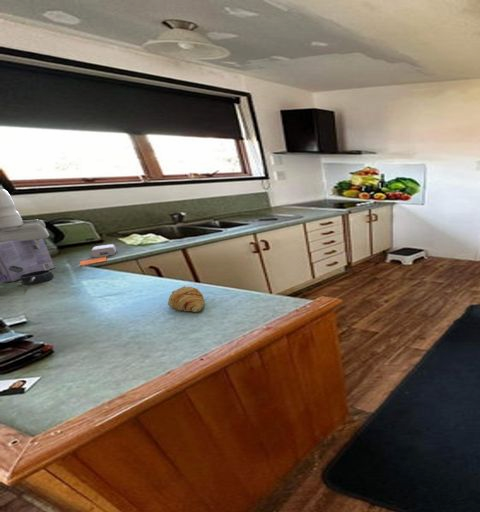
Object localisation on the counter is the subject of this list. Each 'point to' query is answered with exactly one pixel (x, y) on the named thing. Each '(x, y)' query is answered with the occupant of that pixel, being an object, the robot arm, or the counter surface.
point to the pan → (37, 276)
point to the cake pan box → (22, 259)
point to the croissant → (186, 299)
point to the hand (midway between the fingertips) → (22, 251)
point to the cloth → (93, 261)
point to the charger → (103, 250)
